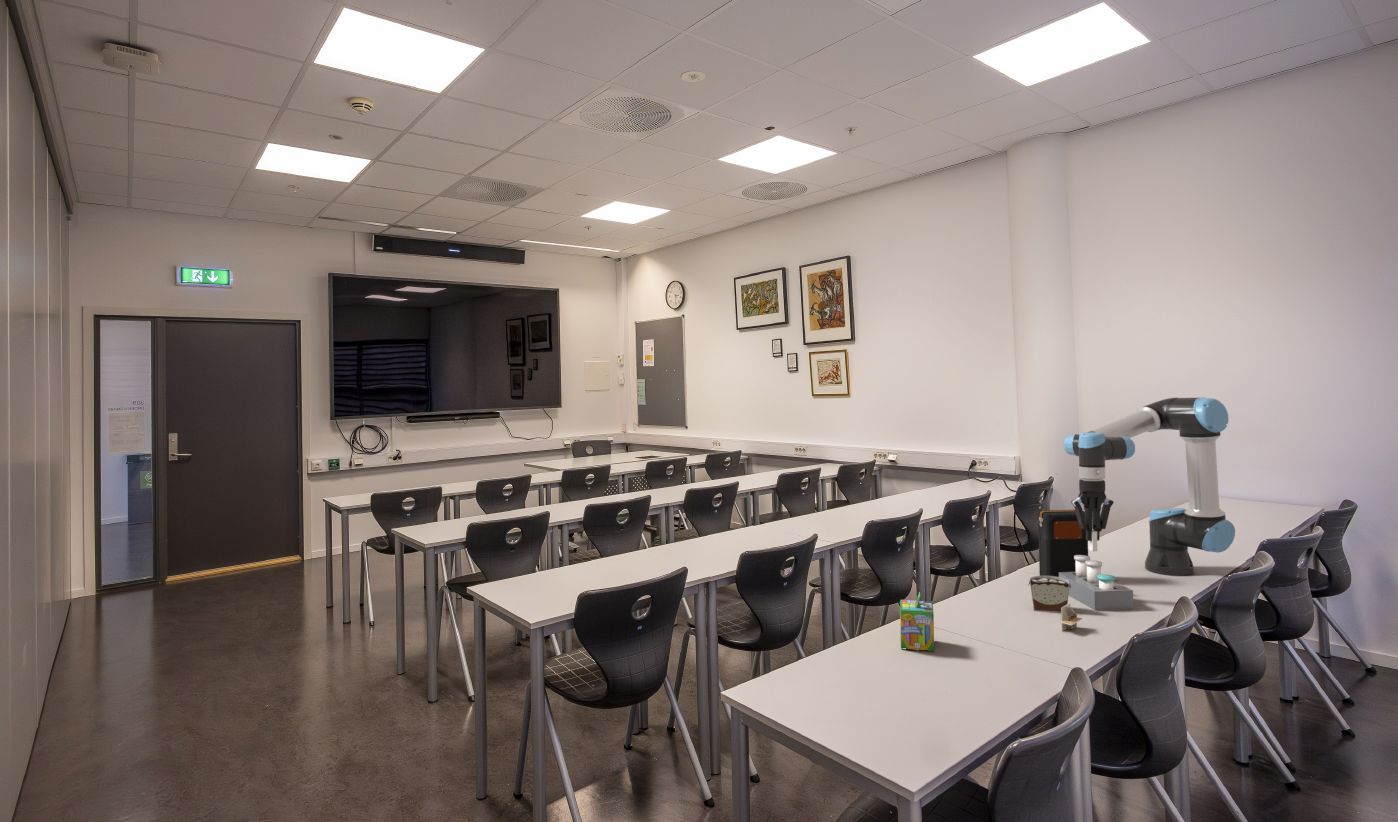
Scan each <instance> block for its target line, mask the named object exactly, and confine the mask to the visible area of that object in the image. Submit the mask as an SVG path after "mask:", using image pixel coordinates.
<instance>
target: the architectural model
mask: <svg viewBox="0 0 1398 822" xmlns="http://www.w3.org/2000/svg"><path fill="white" fill-rule="evenodd" d="M1060 614H1061V615H1060V617H1061V618H1060V620H1061V621H1060V624H1061V632H1064V631H1065V630H1067V629H1070V630H1071V629H1072V630H1074V629H1075V628H1076V629H1077V628H1078V623H1079V622H1080V621H1082V620H1083V618H1081V617H1078V612H1075V611H1074V609H1073V608H1072V607H1071V603H1069V602H1068V604H1067V605H1065V606H1063V607H1061V613H1060Z"/></svg>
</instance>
